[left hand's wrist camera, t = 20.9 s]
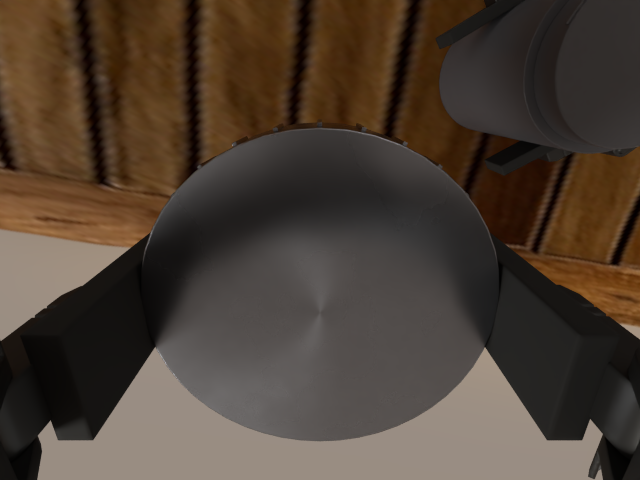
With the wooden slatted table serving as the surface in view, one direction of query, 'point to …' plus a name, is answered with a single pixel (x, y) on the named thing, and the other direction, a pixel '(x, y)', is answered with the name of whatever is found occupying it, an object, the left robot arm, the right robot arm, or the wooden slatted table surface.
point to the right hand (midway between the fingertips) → (470, 108)
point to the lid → (320, 282)
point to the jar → (551, 75)
